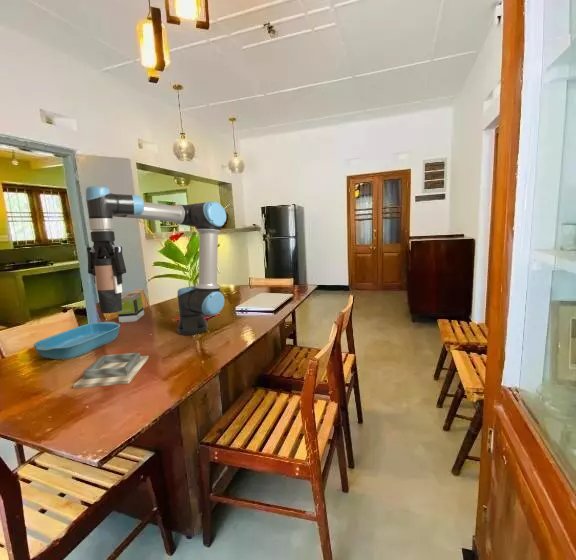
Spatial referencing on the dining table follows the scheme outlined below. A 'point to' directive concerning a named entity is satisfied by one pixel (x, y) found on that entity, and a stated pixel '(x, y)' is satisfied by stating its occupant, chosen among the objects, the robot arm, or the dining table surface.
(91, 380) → the docking board
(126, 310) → the tea box
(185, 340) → the dining table surface
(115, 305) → the travel mug
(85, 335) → the casserole dish
